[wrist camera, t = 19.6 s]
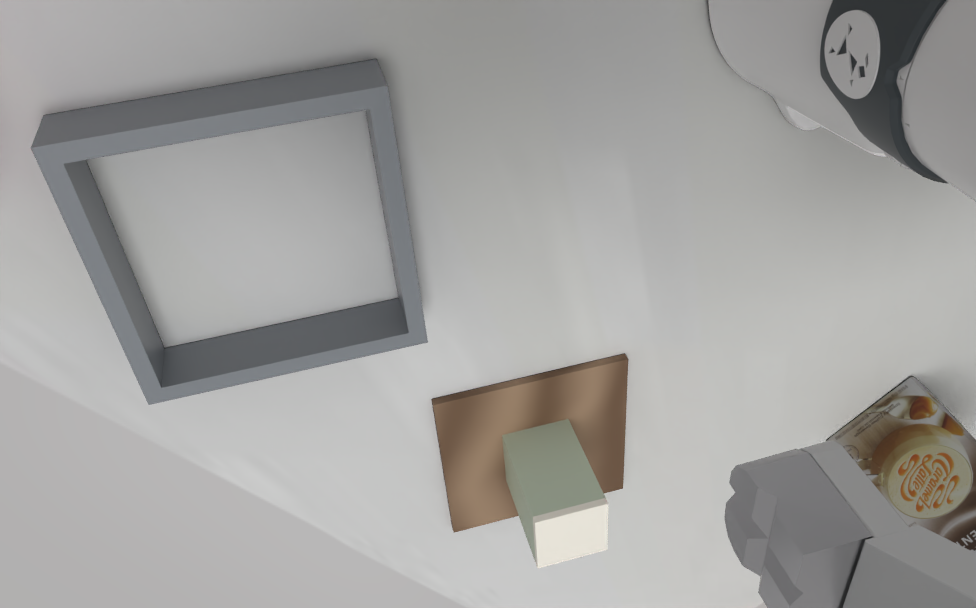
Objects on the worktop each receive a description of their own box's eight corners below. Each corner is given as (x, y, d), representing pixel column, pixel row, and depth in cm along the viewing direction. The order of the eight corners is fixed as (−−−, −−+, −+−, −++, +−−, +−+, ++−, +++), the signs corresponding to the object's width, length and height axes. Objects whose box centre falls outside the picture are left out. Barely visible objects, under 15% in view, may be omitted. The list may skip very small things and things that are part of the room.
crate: (376, 59, 42) (387, 85, 39) (416, 307, 52) (427, 342, 49) (43, 115, 39) (30, 148, 37) (152, 364, 49) (148, 404, 47)
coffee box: (910, 372, 69) (1063, 526, 56) (940, 402, 72) (1089, 553, 60) (822, 441, 71) (949, 603, 59) (854, 467, 75) (980, 624, 63)
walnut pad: (625, 353, 59) (628, 359, 58) (620, 482, 68) (622, 488, 67) (431, 399, 57) (433, 405, 56) (452, 526, 65) (453, 532, 65)
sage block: (568, 418, 61) (608, 503, 54) (569, 464, 64) (607, 549, 57) (501, 435, 60) (534, 523, 54) (506, 480, 63) (537, 568, 57)
